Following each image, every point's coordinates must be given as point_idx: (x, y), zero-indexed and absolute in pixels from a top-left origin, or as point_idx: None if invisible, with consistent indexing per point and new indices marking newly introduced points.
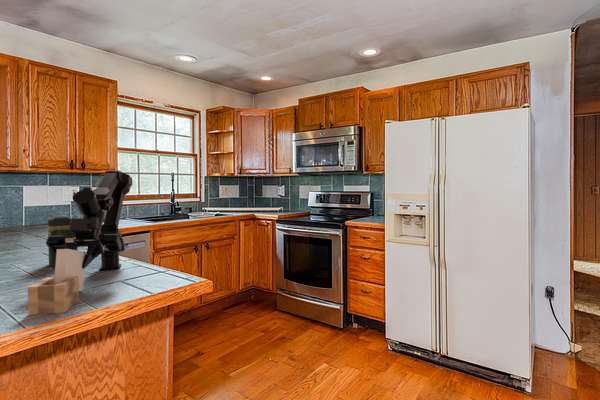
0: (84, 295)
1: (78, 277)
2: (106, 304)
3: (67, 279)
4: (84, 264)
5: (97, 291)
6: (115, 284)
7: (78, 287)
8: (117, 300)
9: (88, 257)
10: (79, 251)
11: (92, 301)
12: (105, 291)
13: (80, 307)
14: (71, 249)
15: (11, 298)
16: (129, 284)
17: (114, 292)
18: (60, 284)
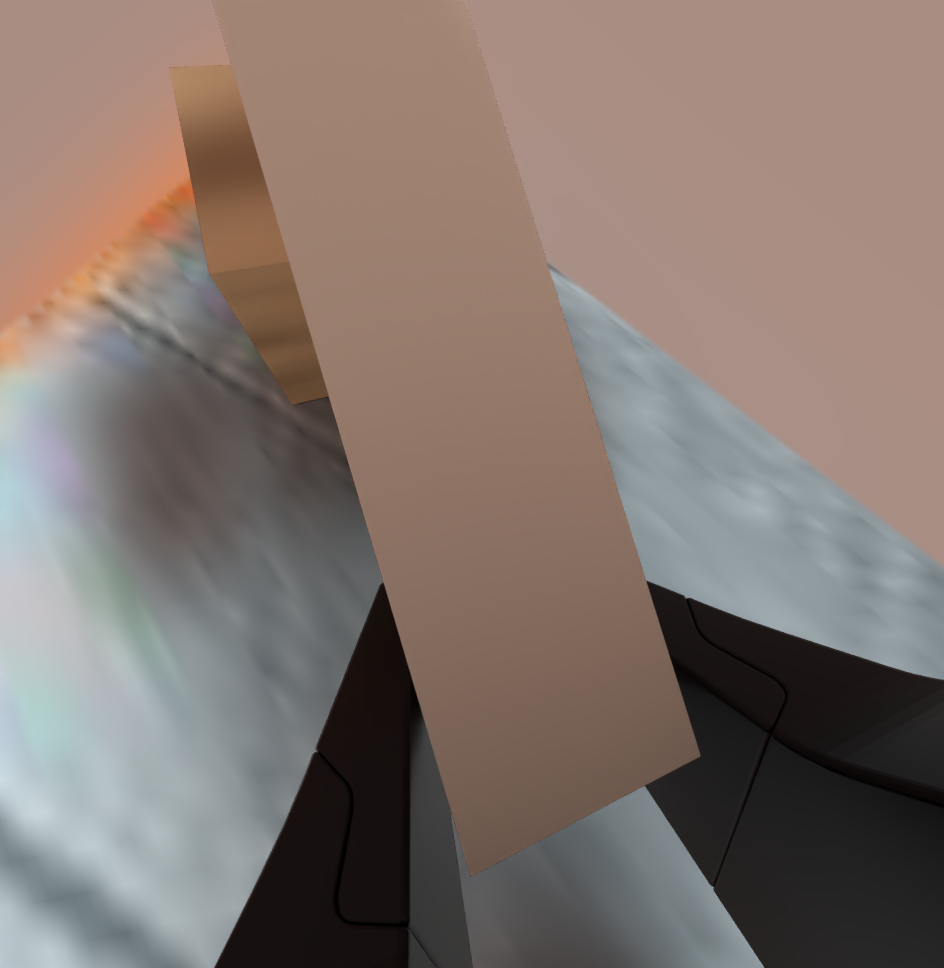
0: (327, 502)
1: (216, 283)
2: (67, 355)
3: (242, 181)
4: (372, 604)
5: (285, 603)
6: (228, 854)
7: (254, 341)
8: (15, 423)
9: (330, 721)
10: (328, 394)
11: (194, 398)
12: (215, 611)
13: (211, 310)
14: (893, 727)
15: (720, 420)
16: (61, 887)
17: (119, 594)
18: (207, 83)
